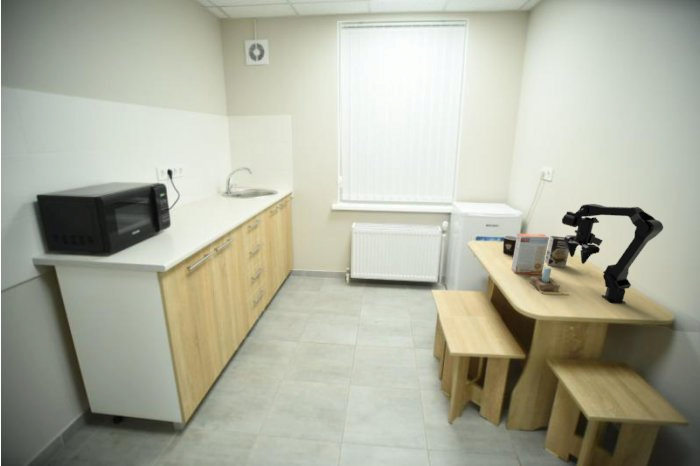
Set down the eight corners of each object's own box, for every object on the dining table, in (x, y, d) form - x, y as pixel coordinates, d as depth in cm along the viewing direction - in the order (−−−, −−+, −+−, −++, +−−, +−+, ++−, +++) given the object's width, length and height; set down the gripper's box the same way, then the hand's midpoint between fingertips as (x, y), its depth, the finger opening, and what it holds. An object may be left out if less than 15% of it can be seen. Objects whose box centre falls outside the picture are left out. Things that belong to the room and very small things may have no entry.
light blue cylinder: (548, 289, 161) (552, 269, 158) (541, 288, 161) (546, 269, 158) (545, 286, 164) (549, 267, 161) (538, 286, 164) (542, 267, 161)
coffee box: (548, 265, 190) (553, 238, 185) (544, 261, 196) (550, 235, 191) (565, 267, 188) (572, 240, 183) (561, 263, 194) (567, 236, 189)
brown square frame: (558, 292, 158) (559, 285, 157) (538, 291, 158) (540, 284, 157) (548, 283, 166) (549, 277, 165) (529, 283, 167) (531, 276, 166)
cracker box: (536, 270, 183) (544, 233, 177) (542, 274, 177) (549, 237, 171) (510, 269, 184) (517, 232, 178) (514, 273, 178) (521, 236, 172)
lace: (568, 294, 155) (568, 293, 155) (541, 293, 156) (541, 292, 156) (563, 290, 159) (564, 289, 159) (537, 289, 160) (537, 288, 160)
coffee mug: (498, 251, 210) (500, 236, 208) (507, 250, 214) (510, 235, 211) (513, 258, 200) (516, 242, 197) (523, 256, 204) (526, 240, 201)
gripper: (615, 236, 152) (606, 268, 156) (589, 225, 170) (582, 254, 174) (590, 235, 152) (582, 267, 157) (566, 224, 170) (560, 253, 175)
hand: (577, 260), depth 166 cm, fingers open, 9 cm apart
